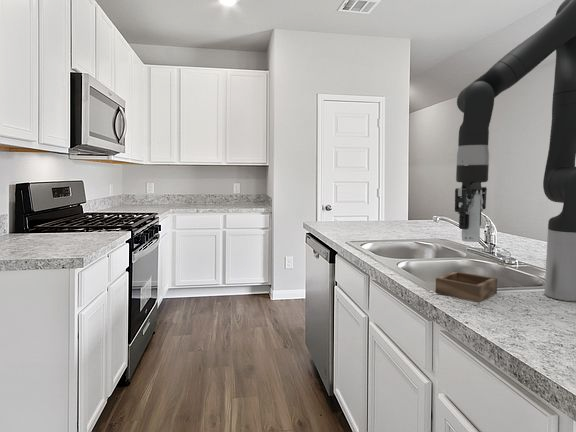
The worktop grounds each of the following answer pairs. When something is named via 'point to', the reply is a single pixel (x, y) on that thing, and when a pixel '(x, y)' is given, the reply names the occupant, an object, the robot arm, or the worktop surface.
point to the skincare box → (473, 222)
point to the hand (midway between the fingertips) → (470, 227)
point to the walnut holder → (466, 286)
